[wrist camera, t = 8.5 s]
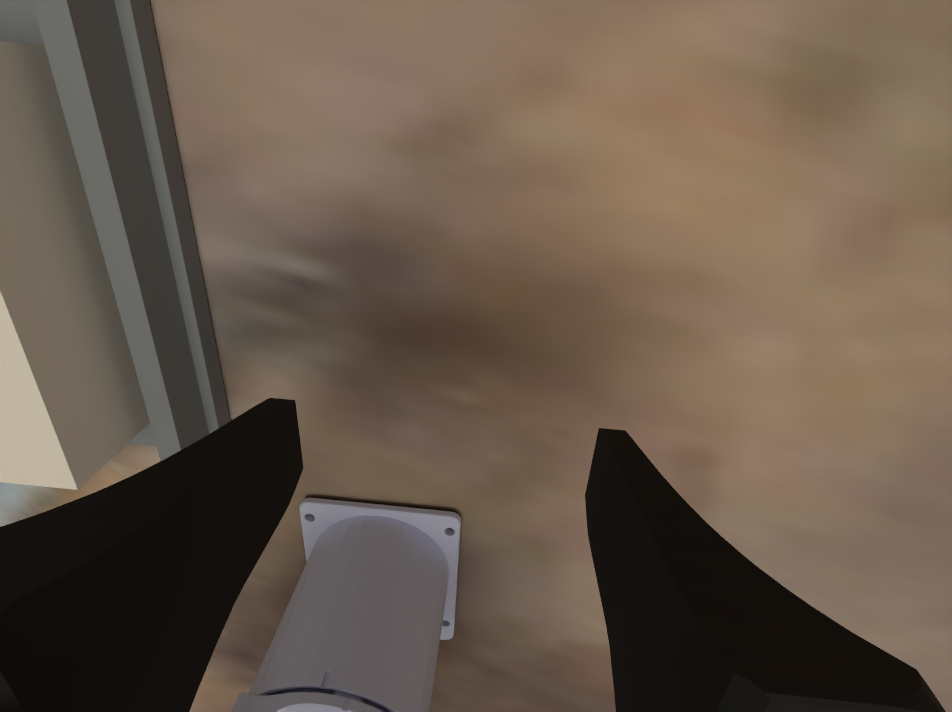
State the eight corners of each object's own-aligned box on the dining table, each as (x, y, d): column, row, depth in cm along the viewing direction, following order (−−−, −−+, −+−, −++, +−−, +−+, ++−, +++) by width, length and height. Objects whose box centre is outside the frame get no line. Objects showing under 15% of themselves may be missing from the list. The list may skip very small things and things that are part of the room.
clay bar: (161, 412, 23) (77, 489, 19) (95, 405, 23) (-3, 481, 19) (63, 45, 17) (-100, 34, 12) (-28, 39, 17) (-221, 26, 12)
